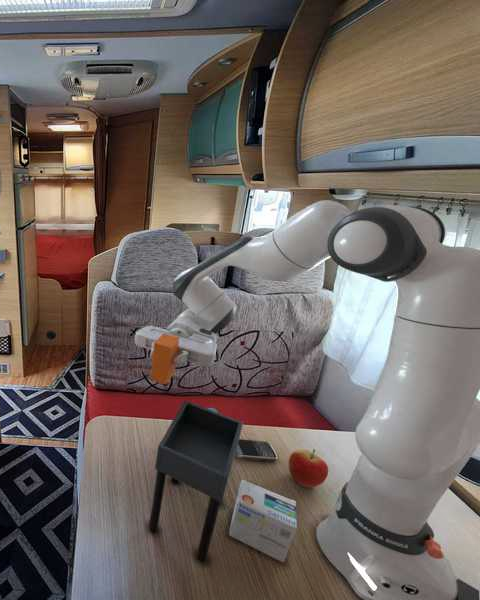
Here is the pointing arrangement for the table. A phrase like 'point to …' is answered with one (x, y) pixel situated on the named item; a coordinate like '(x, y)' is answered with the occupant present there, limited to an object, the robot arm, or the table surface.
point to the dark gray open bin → (200, 449)
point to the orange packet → (164, 358)
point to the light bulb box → (264, 520)
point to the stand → (208, 523)
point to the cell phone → (255, 450)
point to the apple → (307, 468)
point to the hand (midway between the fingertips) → (163, 358)
